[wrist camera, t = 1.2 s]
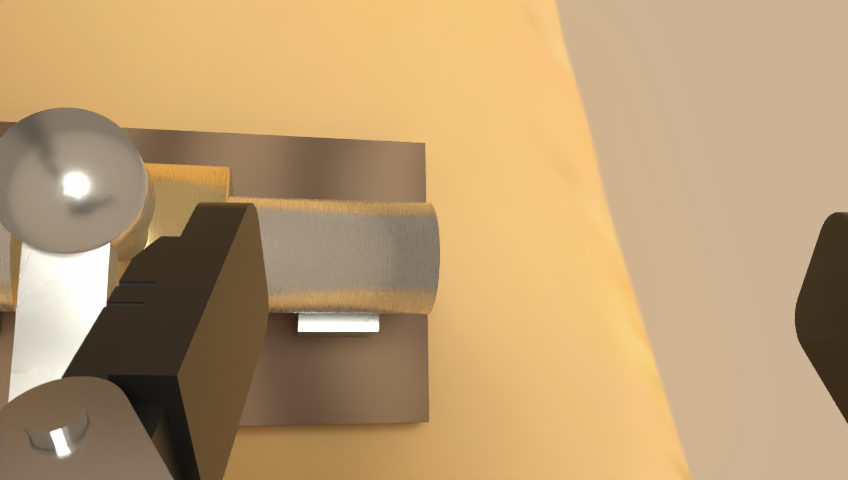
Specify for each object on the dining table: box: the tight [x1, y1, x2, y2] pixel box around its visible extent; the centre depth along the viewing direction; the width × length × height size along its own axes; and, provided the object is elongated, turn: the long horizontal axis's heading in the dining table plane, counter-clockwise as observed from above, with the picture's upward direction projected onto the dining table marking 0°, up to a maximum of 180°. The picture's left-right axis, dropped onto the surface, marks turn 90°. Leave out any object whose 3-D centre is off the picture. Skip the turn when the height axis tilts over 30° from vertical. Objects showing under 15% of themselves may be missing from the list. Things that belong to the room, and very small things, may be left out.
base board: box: [0, 122, 429, 426], centre depth 32 cm, size 22×12×2 cm, turn 91°
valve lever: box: [0, 108, 155, 403], centre depth 16 cm, size 3×16×2 cm, turn 1°
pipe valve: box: [0, 163, 440, 337], centre depth 25 cm, size 20×6×12 cm, turn 91°
